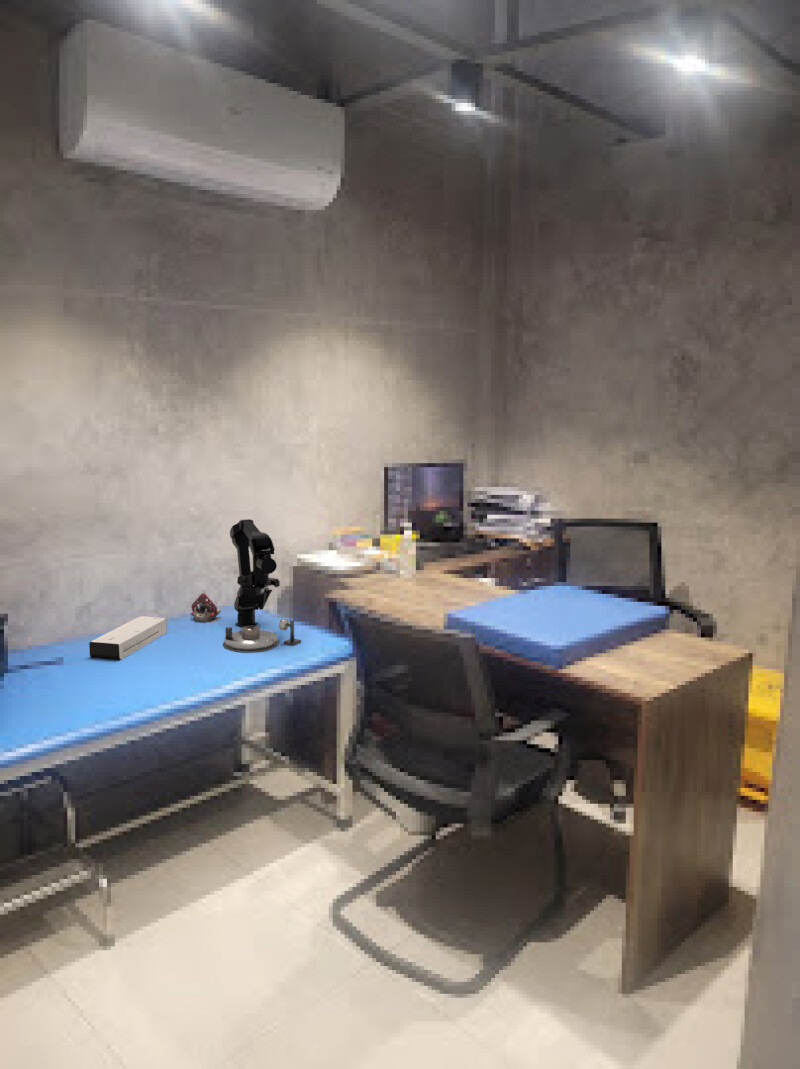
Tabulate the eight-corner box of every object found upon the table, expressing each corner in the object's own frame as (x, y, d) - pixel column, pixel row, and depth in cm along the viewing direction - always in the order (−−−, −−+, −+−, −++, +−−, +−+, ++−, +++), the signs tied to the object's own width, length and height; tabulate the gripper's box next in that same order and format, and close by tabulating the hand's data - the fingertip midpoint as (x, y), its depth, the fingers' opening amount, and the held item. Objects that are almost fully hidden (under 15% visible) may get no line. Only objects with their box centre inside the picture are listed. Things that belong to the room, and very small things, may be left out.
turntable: (250, 631, 313) (250, 616, 312) (288, 640, 303) (288, 625, 302) (213, 644, 298) (213, 628, 297) (251, 653, 287) (251, 637, 286)
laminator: (119, 661, 280) (118, 644, 278) (87, 658, 282) (86, 641, 281) (167, 633, 312) (166, 617, 311) (137, 631, 315) (137, 615, 314)
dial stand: (290, 640, 306) (289, 616, 304) (300, 642, 303) (300, 619, 301) (279, 643, 301) (278, 620, 299) (290, 646, 298) (289, 622, 296)
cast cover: (250, 633, 304) (250, 623, 304) (263, 636, 301) (263, 627, 300) (237, 637, 299) (237, 628, 298) (251, 641, 295) (250, 631, 294)
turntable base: (250, 632, 314) (250, 631, 314) (290, 642, 303) (290, 641, 303) (211, 645, 297) (211, 644, 297) (251, 656, 286) (251, 655, 286)
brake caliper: (183, 617, 325) (191, 589, 331) (194, 627, 335) (202, 600, 340) (209, 619, 323) (217, 591, 328) (219, 629, 332) (227, 602, 337)
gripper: (254, 562, 314) (254, 601, 316) (228, 571, 297) (229, 613, 299) (280, 564, 310) (280, 604, 313) (255, 574, 293) (255, 616, 295)
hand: (261, 609), depth 305 cm, fingers closed
